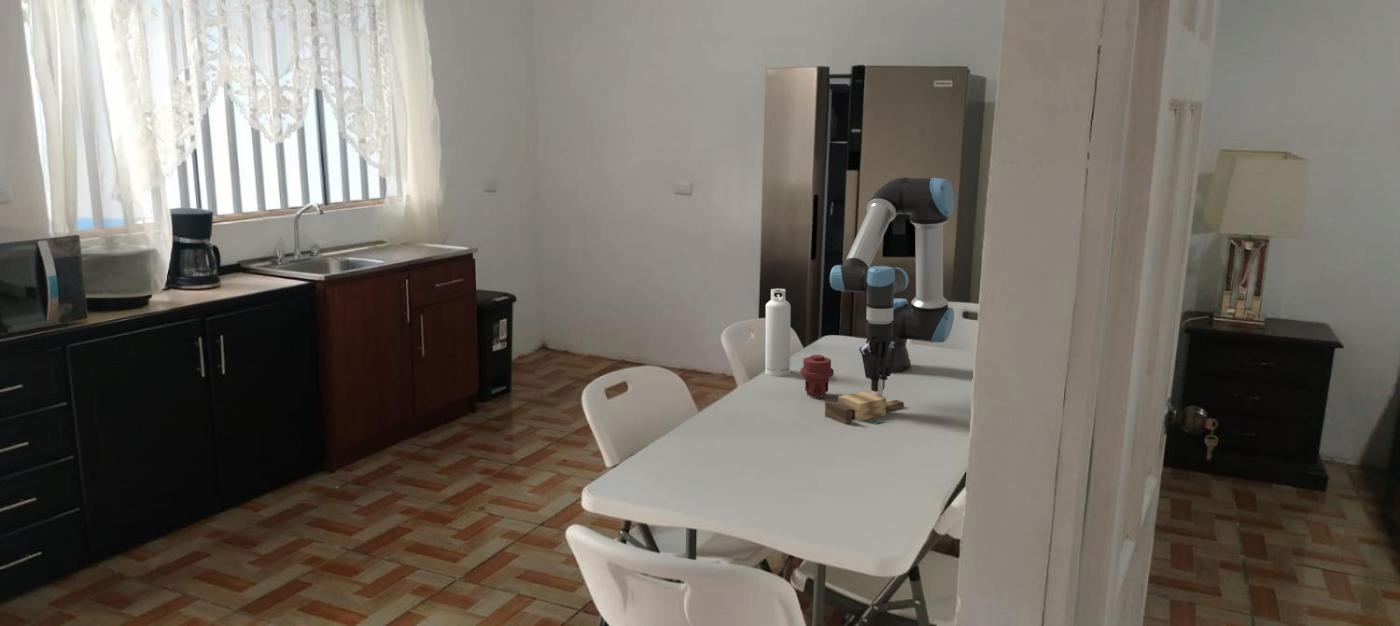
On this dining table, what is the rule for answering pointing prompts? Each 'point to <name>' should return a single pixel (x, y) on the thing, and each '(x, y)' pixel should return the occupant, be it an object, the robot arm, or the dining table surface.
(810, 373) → the mechanical component
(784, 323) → the bottle
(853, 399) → the light wooden box
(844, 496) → the dining table surface
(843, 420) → the wooden block assembly
